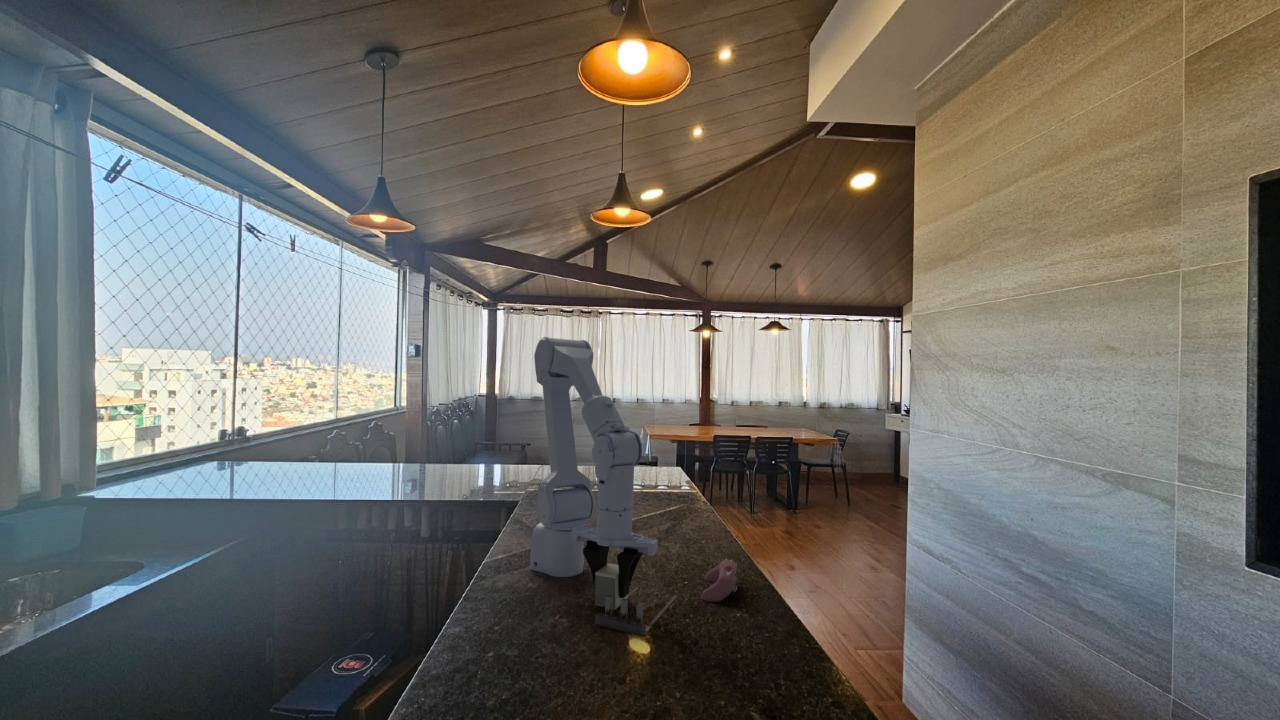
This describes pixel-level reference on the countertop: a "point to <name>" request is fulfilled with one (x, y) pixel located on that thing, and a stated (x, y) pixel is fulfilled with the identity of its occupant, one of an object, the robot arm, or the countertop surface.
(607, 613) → the header
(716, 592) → the video game controller
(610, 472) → the robot arm
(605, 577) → the plug block
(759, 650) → the countertop surface
